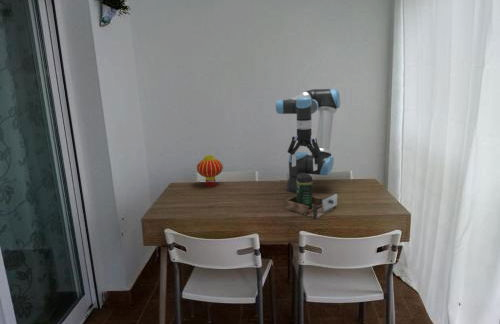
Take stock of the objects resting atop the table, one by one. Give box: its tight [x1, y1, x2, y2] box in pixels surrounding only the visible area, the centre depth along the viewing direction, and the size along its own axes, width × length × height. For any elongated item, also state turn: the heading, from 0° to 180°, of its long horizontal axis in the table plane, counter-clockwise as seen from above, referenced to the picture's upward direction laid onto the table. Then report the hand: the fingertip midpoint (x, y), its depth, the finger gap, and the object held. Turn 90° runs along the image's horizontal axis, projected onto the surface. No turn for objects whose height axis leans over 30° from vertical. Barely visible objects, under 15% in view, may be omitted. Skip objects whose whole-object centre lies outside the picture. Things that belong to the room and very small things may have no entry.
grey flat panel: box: [322, 193, 338, 212], centre depth 190 cm, size 2×13×6 cm, turn 136°
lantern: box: [196, 146, 224, 187], centre depth 239 cm, size 17×17×30 cm
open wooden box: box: [284, 194, 334, 220], centre depth 193 cm, size 20×15×6 cm
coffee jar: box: [296, 173, 313, 209], centre depth 193 cm, size 10×8×19 cm
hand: (304, 168), depth 190 cm, fingers open, 13 cm apart
